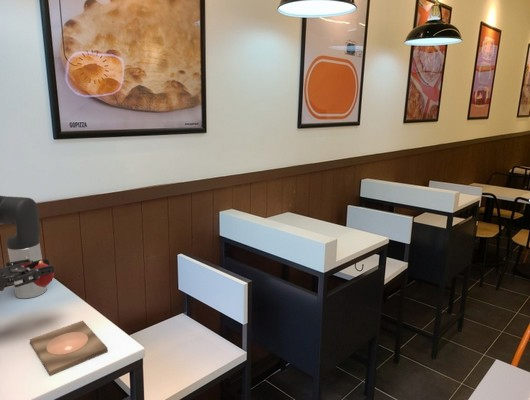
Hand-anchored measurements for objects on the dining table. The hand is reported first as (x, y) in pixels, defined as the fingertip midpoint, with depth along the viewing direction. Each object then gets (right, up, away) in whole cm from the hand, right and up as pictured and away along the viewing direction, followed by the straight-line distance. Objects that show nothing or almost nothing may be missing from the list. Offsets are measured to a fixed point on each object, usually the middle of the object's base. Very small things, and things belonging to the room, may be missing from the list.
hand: (50, 265), depth 119 cm
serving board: (+9, -21, -9) cm, 24 cm away
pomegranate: (-2, -7, 0) cm, 7 cm away
